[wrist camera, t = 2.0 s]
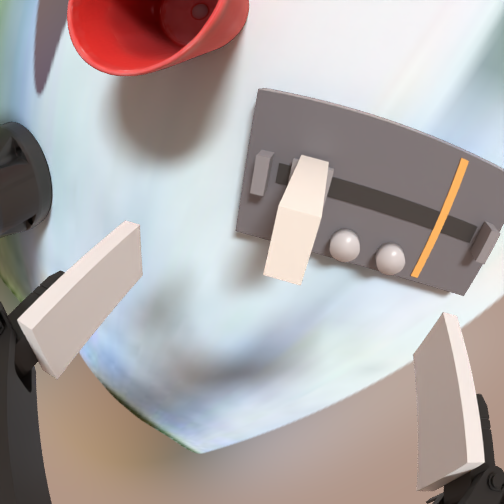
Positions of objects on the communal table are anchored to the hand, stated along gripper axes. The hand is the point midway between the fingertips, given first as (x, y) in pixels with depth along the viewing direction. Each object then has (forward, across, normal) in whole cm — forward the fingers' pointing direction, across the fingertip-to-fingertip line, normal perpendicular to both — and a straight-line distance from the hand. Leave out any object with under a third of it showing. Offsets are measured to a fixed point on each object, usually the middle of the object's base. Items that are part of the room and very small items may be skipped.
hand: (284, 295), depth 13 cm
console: (+15, +6, 0) cm, 16 cm away
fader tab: (+13, 0, 0) cm, 13 cm away
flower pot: (+15, -12, +12) cm, 23 cm away
